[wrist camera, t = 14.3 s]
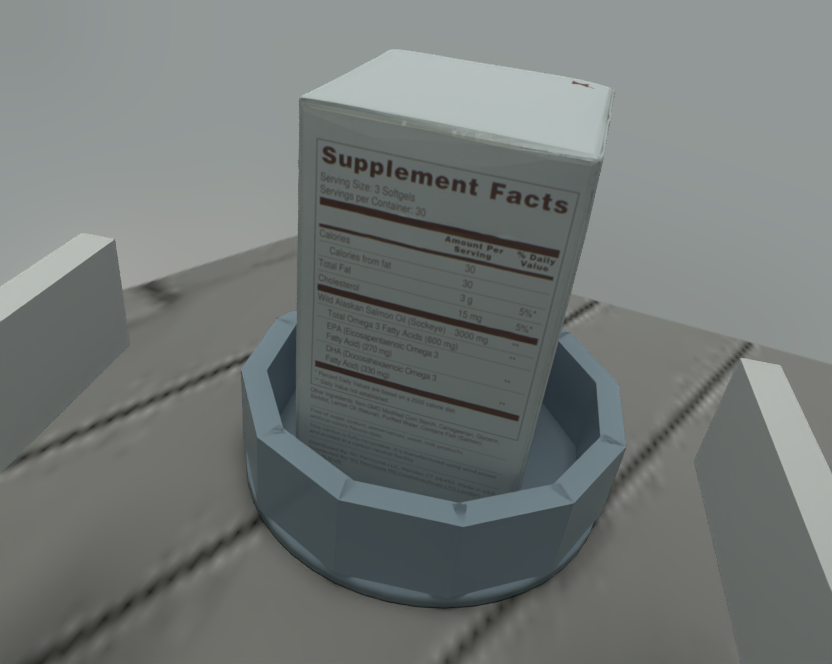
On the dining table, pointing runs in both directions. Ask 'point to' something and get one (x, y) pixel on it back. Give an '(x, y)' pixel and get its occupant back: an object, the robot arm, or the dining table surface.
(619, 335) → the dining table surface
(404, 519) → the bowl
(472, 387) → the supplement box
